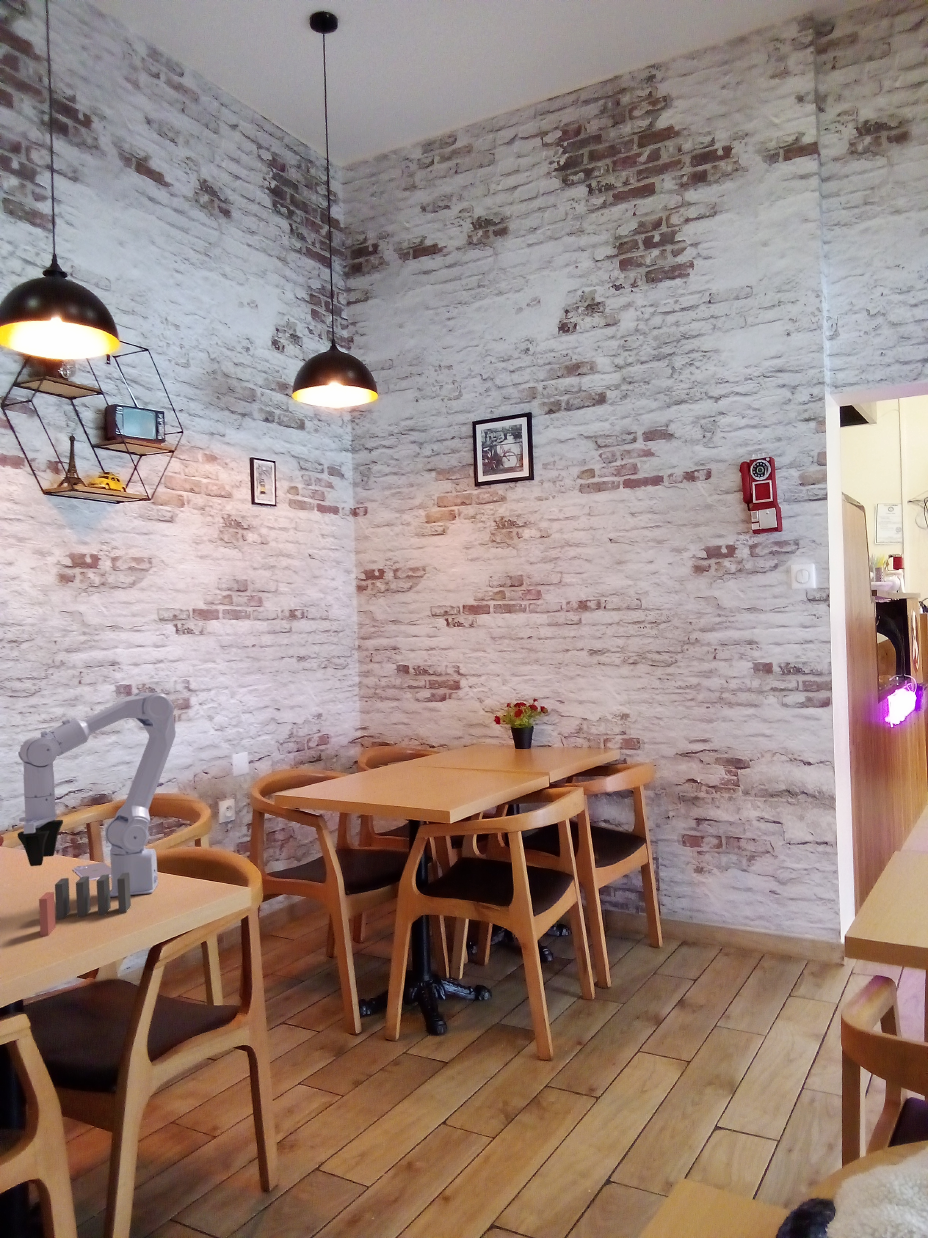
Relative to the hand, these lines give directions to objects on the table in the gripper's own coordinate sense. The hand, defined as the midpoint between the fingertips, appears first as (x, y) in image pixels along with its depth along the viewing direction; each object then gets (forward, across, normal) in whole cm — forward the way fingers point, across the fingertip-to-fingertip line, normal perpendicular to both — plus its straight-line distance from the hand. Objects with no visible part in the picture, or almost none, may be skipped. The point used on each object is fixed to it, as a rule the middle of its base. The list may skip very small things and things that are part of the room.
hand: (42, 860), depth 184 cm
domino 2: (+10, +4, +9) cm, 14 cm away
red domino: (+10, +14, +5) cm, 19 cm away
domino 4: (+10, +4, +17) cm, 20 cm away
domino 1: (+10, +4, +5) cm, 12 cm away
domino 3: (+10, +4, +13) cm, 17 cm away
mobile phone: (+11, -30, +2) cm, 32 cm away
